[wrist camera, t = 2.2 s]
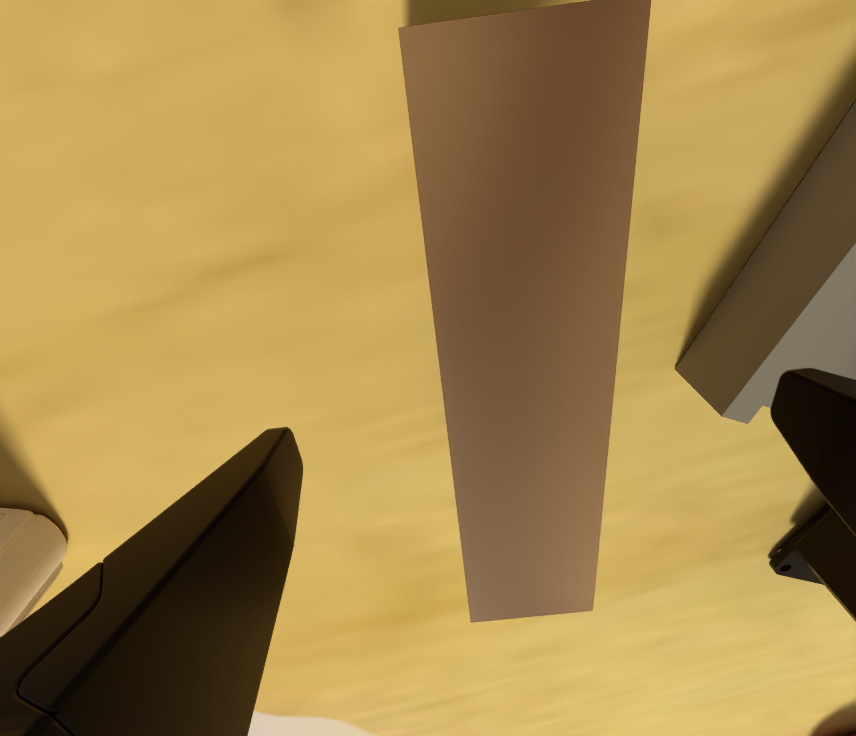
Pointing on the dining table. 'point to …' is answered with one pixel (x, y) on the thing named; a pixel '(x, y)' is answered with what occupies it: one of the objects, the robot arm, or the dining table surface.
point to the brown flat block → (528, 278)
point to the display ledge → (788, 294)
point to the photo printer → (26, 563)
